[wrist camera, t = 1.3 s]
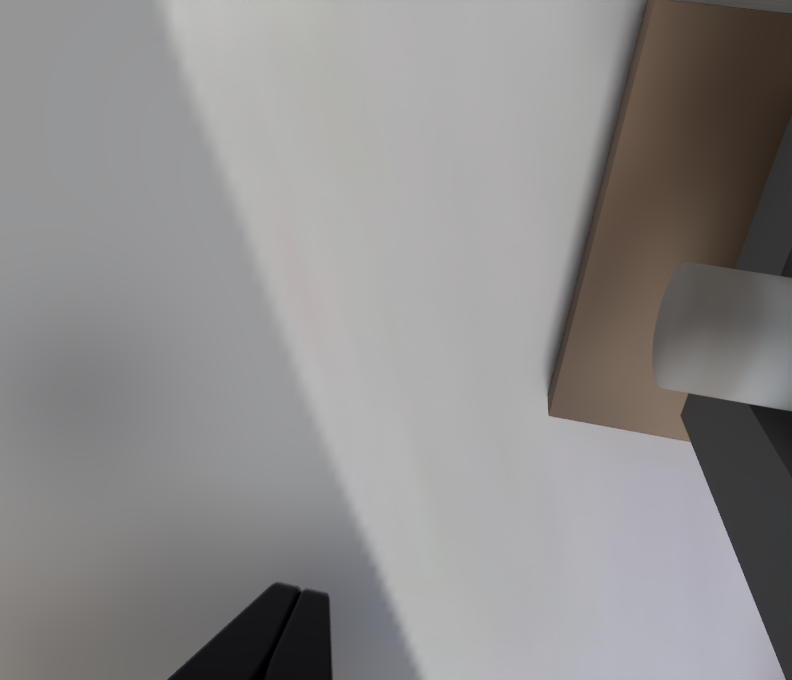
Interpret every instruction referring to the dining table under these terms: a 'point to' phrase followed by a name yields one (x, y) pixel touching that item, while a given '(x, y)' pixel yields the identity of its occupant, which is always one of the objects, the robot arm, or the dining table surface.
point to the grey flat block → (756, 437)
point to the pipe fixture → (683, 230)
